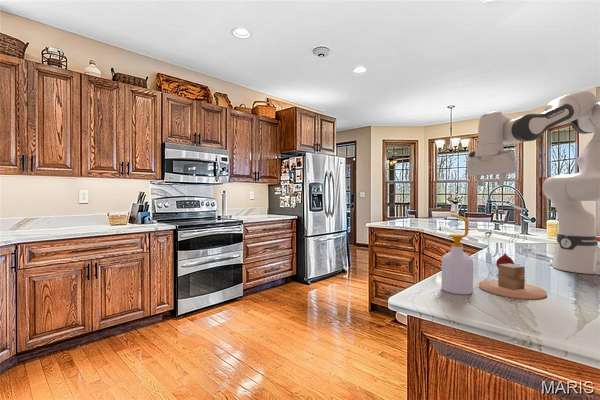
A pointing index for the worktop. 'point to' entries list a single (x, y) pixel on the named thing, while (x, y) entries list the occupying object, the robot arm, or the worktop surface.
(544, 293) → the plate
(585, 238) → the robot arm
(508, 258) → the onion
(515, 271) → the block
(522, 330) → the worktop surface
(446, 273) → the soap bottle
